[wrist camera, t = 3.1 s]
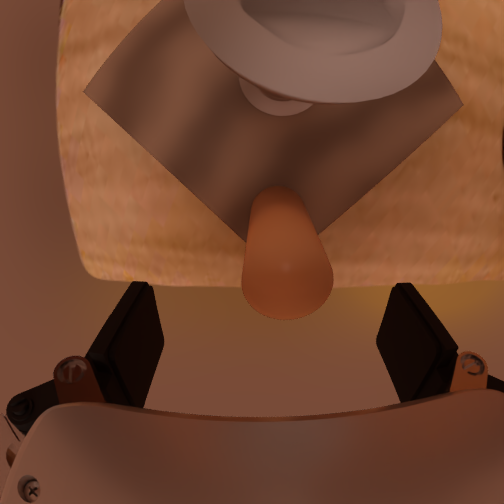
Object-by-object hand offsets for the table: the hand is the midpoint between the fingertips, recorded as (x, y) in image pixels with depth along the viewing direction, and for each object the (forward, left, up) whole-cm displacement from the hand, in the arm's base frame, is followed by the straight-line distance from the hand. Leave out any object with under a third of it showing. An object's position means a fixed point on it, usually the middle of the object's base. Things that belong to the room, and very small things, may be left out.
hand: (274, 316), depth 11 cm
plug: (0, -1, -12) cm, 12 cm away
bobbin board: (+7, -8, -14) cm, 18 cm away
